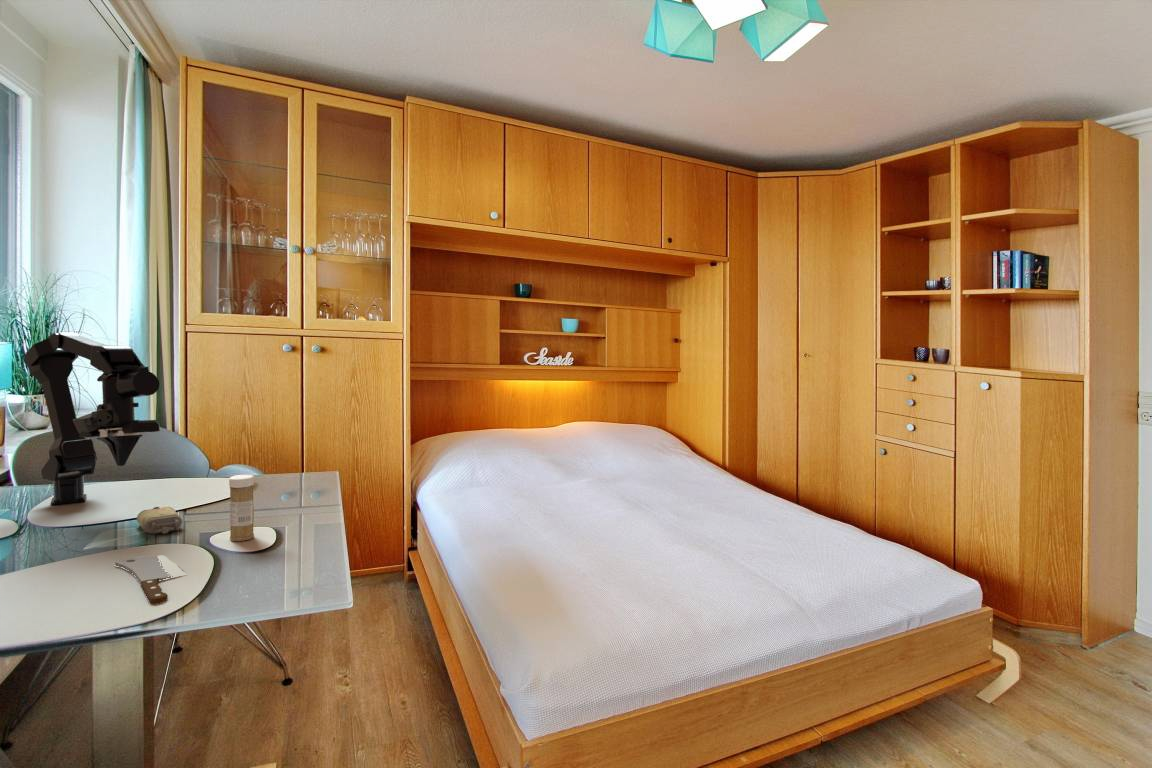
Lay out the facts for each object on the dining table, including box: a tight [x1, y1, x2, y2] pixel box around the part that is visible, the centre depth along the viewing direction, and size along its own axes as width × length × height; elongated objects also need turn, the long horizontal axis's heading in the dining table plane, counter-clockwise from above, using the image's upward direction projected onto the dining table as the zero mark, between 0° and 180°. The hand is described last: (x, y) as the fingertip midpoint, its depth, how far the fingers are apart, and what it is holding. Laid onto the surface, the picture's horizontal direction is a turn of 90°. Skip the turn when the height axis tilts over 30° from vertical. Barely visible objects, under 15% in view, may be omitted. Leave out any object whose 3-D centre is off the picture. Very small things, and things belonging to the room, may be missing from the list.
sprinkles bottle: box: [228, 474, 255, 542], centre depth 122 cm, size 5×5×13 cm
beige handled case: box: [136, 506, 183, 534], centre depth 127 cm, size 7×4×10 cm
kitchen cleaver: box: [114, 554, 173, 605], centre depth 102 cm, size 24×1×10 cm
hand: (120, 465), depth 135 cm, fingers closed
